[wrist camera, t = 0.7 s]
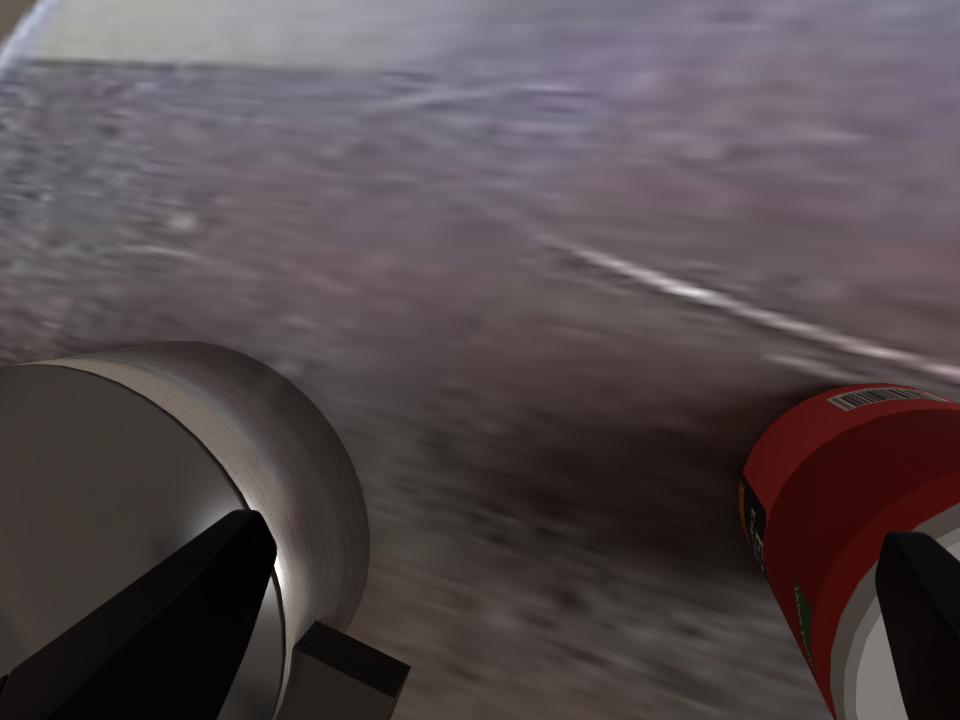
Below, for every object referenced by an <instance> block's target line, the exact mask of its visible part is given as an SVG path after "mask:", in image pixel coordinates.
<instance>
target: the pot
mask: <svg viewBox="0 0 960 720" xmlns="http://www.w3.org/2000/svg"><path fill="white" fill-rule="evenodd" d="M237 509H245V510H257V511H259V512H260V513H261V514H262V516H263V517H264V519H265V521H266V523H267V525H268V527H269V529H270V531H271V533H272V535H273V537H274V539H275V542H276V545H277V557H276V561H275V564H274V567H273V570H272V574H271V577H270V580H269V583H268V586H267V589H266V592H265V595H264V599H263V602H262V605H261V608H260V611H259V614H258V617H257V621H256V624H255V627H254V630H253V633H252V636H251V639H250V642H249V644H248V647H247V650H246V652H245V655H244V657H243V660H242V662H241V665H240V667H239V670H238V672H237V674H236V677H235V679H234V681H233V684H232V686H231V688H230V691H229V693H228V695H227V698H226V700H225V702H224V705H223V707H222V709H221V712H220V714H219V716H218V719H217V720H391V717H392V714H393V712H394V709H395V707H396V704H397V702H398V699H399V696H400V694H401V691H402V689H403V686H404V683H405V681H406V678H407V676H408V673H409V670H410V668H411V666H409V665H407V664H405V663H403V662H400V661H398V660H396V659H394V658H392V657H390V656H388V655H386V654H384V653H382V652H380V651H378V650H376V649H374V648H372V647H370V646H368V645H366V644H364V643H362V642H360V641H358V640H356V639H354V638H352V637H350V636H348V635H346V634H344V633H345V631H346V630H347V628H348V626H349V625H350V623H351V622H352V619H353V617H354V615H355V613H356V610H357V608H358V606H359V604H360V601H361V597H362V594H363V590H364V587H365V583H366V579H367V571H368V564H369V525H368V517H367V509H366V505H365V501H364V497H363V493H362V489H361V485H360V482H359V479H358V477H357V474H356V472H355V469H354V467H353V464H352V461H351V459H350V457H349V455H348V453H347V452H346V450H345V448H344V446H343V444H342V442H341V440H340V439H339V437H338V435H337V434H336V432H335V431H334V429H333V428H332V427H331V425H330V424H329V422H328V421H327V419H326V418H325V417H324V415H323V414H322V413H321V412H320V411H319V410H318V408H317V407H316V406H315V405H314V404H313V403H312V402H311V401H310V399H309V398H308V397H307V396H306V395H305V394H304V393H302V392H301V391H300V390H299V389H298V388H297V387H296V386H294V385H293V384H292V383H291V382H290V381H289V380H288V379H286V378H285V377H283V376H282V375H280V374H279V373H277V372H276V371H274V370H273V369H272V368H270V367H269V366H267V365H265V364H263V363H261V362H259V361H257V360H255V359H253V358H251V357H250V356H248V355H246V354H243V353H240V352H237V351H234V350H232V349H229V348H226V347H223V346H218V345H213V344H208V343H203V342H193V341H169V342H159V343H152V344H145V345H139V346H132V347H126V348H119V349H113V350H107V351H100V352H94V353H87V354H81V355H74V356H68V357H62V358H55V359H49V360H42V361H36V362H29V363H23V364H16V365H10V366H4V367H0V678H1V677H3V676H4V675H6V674H10V672H11V670H13V669H14V668H15V667H17V666H18V665H19V664H21V663H22V662H24V661H25V660H26V659H28V658H29V657H30V656H32V655H33V654H35V653H36V652H37V651H39V650H40V649H42V648H43V647H44V646H46V645H47V644H48V643H50V642H51V641H53V640H54V639H55V638H57V637H58V636H59V635H61V634H62V633H64V632H65V631H66V630H68V629H69V628H71V627H72V626H73V625H75V624H76V623H77V622H79V621H80V620H82V619H83V618H84V617H86V616H87V615H88V614H90V613H91V612H93V611H94V610H95V609H97V608H98V607H100V606H101V605H102V604H104V603H105V602H106V601H108V600H109V599H111V598H112V597H113V596H115V595H116V594H117V593H119V592H120V591H122V590H123V589H124V588H126V587H127V586H129V585H130V584H131V583H133V582H134V581H135V580H137V579H138V578H140V577H141V576H142V575H144V574H145V573H146V572H148V571H149V570H151V569H152V568H153V567H155V566H156V565H158V564H159V563H160V562H162V561H163V560H164V559H166V558H167V557H169V556H170V555H171V554H173V553H174V552H175V551H177V550H178V549H180V548H181V547H182V546H184V545H185V544H187V543H188V542H189V541H191V540H192V539H193V538H195V537H196V536H198V535H199V534H200V533H202V532H203V531H204V530H206V529H207V528H209V527H210V526H211V525H213V524H214V523H215V522H217V521H218V520H220V519H221V518H222V517H224V516H225V515H227V514H228V513H229V512H231V511H233V510H237Z"/></svg>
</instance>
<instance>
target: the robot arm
mask: <svg viewBox="0 0 960 720" xmlns="http://www.w3.org/2000/svg"><path fill="white" fill-rule="evenodd" d="M276 557H277V545H276V542H275V539H274V537H273V535H272V533H271V531H270V529H269V527H268V525H267V523H266V521H265V519H264V517H263V516H262V514H261V513H260V512H259V511H257V510H245V509H237V510H233V511H231V512H229V513H228V514H227V515H225V516H224V517H222V518H221V519H220V520H218V521H217V522H215V523H214V524H213V525H211V526H210V527H209V528H207V529H206V530H204V531H203V532H202V533H200V534H199V535H198V536H196V537H195V538H193V539H192V540H191V541H189V542H188V543H187V544H185V545H184V546H182V547H181V548H180V549H178V550H177V551H175V552H174V553H173V554H171V555H170V556H169V557H167V558H166V559H164V560H163V561H162V562H160V563H159V564H158V565H156V566H155V567H153V568H152V569H151V570H149V571H148V572H146V573H145V574H144V575H142V576H141V577H140V578H138V579H137V580H135V581H134V582H133V583H131V584H130V585H129V586H127V587H126V588H124V589H123V590H122V591H120V592H119V593H117V594H116V595H115V596H113V597H112V598H111V599H109V600H108V601H106V602H105V603H104V604H102V605H101V606H100V607H98V608H97V609H95V610H94V611H93V612H91V613H90V614H88V615H87V616H86V617H84V618H83V619H82V620H80V621H79V622H77V623H76V624H75V625H73V626H72V627H71V628H69V629H68V630H66V631H65V632H64V633H62V634H61V635H59V636H58V637H57V638H55V639H54V640H53V641H51V642H50V643H48V644H47V645H46V646H44V647H43V648H42V649H40V650H39V651H37V652H36V653H35V654H33V655H32V656H30V657H29V658H28V659H26V660H25V661H24V662H22V663H21V664H19V665H18V666H17V667H15V668H14V669H13V670H11V672H10V674H6V675H4V676H3V677H1V678H0V720H217V719H218V716H219V714H220V712H221V709H222V707H223V705H224V702H225V700H226V698H227V695H228V693H229V691H230V688H231V686H232V684H233V681H234V679H235V677H236V674H237V672H238V670H239V667H240V665H241V662H242V660H243V657H244V655H245V652H246V650H247V647H248V644H249V642H250V639H251V636H252V633H253V630H254V627H255V624H256V621H257V617H258V614H259V611H260V608H261V605H262V602H263V599H264V595H265V592H266V589H267V586H268V583H269V580H270V577H271V574H272V570H273V567H274V564H275V561H276ZM875 586H876V592H877V597H878V601H879V605H880V609H881V613H882V617H883V622H884V626H885V630H886V634H887V638H888V642H889V646H890V651H891V655H892V659H893V663H894V667H895V671H896V676H897V680H898V684H899V688H900V692H901V696H902V700H903V704H904V707H905V711H906V714H907V717H908V720H960V561H959V560H958V559H957V558H955V557H954V556H953V555H952V554H951V553H950V552H948V551H947V550H946V549H945V548H944V547H943V546H942V545H940V544H939V543H938V542H937V541H936V540H935V539H933V538H932V537H931V536H929V535H928V534H926V533H923V532H917V531H890V532H888V533H887V534H886V535H885V538H884V541H883V544H882V548H881V552H880V556H879V560H878V564H877V568H876V572H875Z"/></svg>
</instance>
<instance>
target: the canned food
mask: <svg viewBox="0 0 960 720" xmlns="http://www.w3.org/2000/svg"><path fill="white" fill-rule="evenodd" d="M739 513H740V517H741V522H742V526H743V531H744V533H745V535H746V537H747V539H748V541H749V543H750V546H751V548H752V550H753V552H754V554H755V556H756V558H757V560H758V562H759V564H760V567H761V569H762V571H763V573H764V575H765V577H766V579H767V581H768V583H769V585H770V587H771V589H772V591H773V594H774V596H775V598H776V600H777V602H778V604H779V606H780V608H781V610H782V612H783V614H784V616H785V619H786V621H787V623H788V625H789V627H790V629H791V631H792V633H793V635H794V637H795V639H796V641H797V643H798V646H799V648H800V650H801V652H802V654H803V656H804V658H805V660H806V662H807V664H808V666H809V668H810V670H811V673H812V675H813V677H814V679H815V681H816V683H817V685H818V687H819V689H820V691H821V693H822V695H823V698H824V700H825V702H826V704H827V706H828V708H829V710H830V712H831V714H832V716H833V718H834V720H908V717H907V714H906V711H905V707H904V704H903V700H902V696H901V692H900V688H899V684H898V680H897V676H896V671H895V667H894V663H893V659H892V655H891V651H890V646H889V642H888V638H887V634H886V630H885V626H884V622H883V617H882V613H881V609H880V605H879V601H878V597H877V592H876V586H875V572H876V568H877V564H878V560H879V556H880V552H881V548H882V544H883V541H884V538H885V535H886V534H887V533H888V532H890V531H917V532H923V533H926V534H928V535H929V536H931V537H932V538H933V539H935V540H936V541H937V542H938V543H939V544H940V545H942V546H943V547H944V548H945V549H946V550H947V551H948V552H950V553H951V554H952V555H953V556H954V557H955V558H957V559H958V560H959V561H960V404H959V403H957V402H954V401H951V400H949V399H946V398H943V397H941V396H938V395H935V394H932V393H929V392H926V391H923V390H919V389H916V388H913V387H910V386H902V385H894V384H887V383H874V384H855V385H851V386H846V387H842V388H837V389H832V390H829V391H826V392H823V393H821V394H818V395H816V396H813V397H811V398H808V399H806V400H803V401H802V402H800V403H798V404H797V405H795V406H794V407H792V408H790V409H789V410H787V411H785V412H784V413H783V414H782V415H780V416H779V417H778V418H777V419H776V420H775V421H774V422H773V423H772V424H771V425H769V426H768V427H767V429H766V430H765V431H764V433H763V434H762V435H761V437H760V438H759V439H758V441H757V442H756V443H755V445H754V447H753V449H752V451H751V453H750V455H749V458H748V460H747V462H746V464H745V466H744V469H743V473H742V478H741V482H740V486H739Z"/></svg>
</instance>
